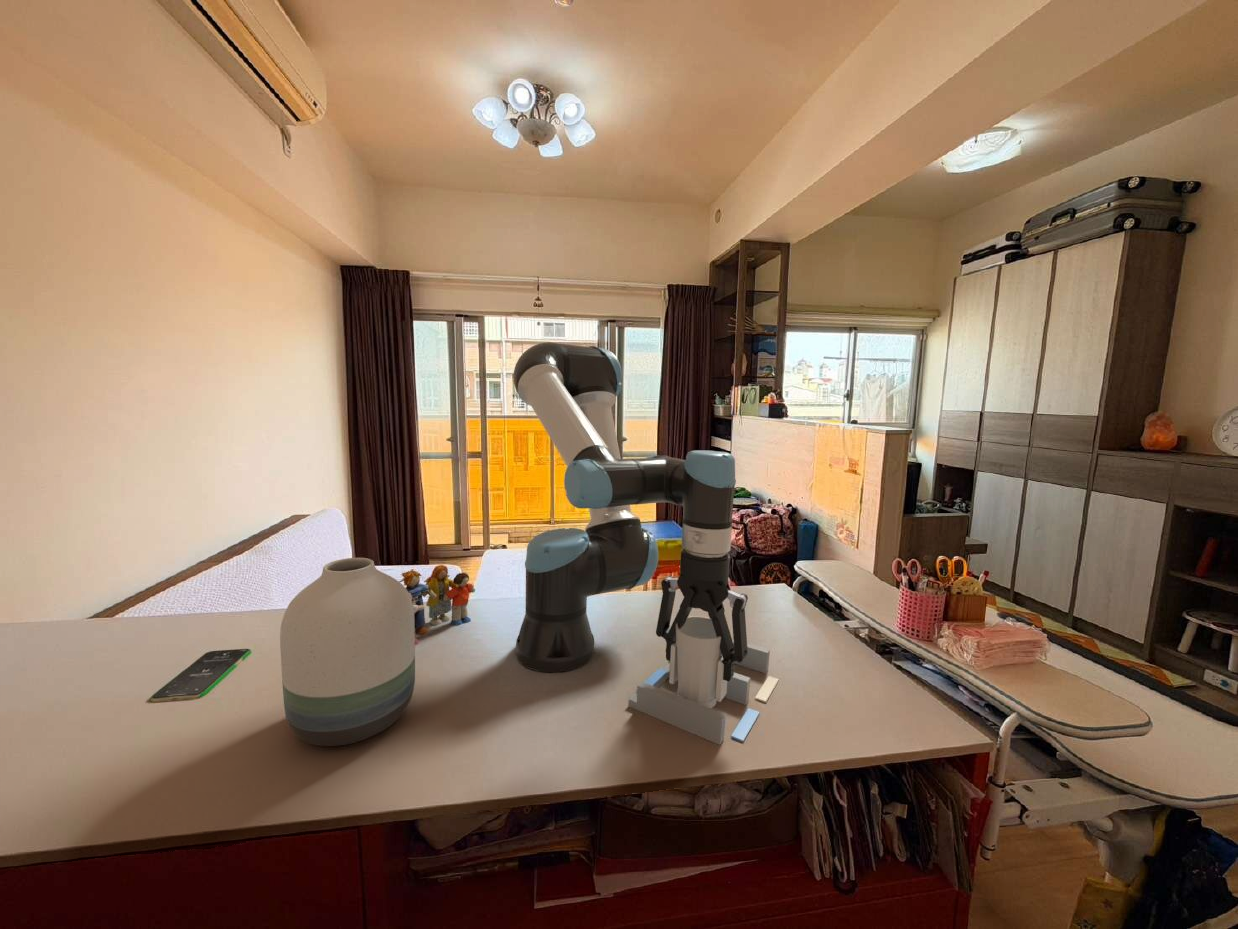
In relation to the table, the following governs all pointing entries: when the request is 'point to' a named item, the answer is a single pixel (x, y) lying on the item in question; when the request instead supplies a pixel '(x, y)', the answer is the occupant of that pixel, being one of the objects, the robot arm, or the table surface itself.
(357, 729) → the vase
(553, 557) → the robot arm
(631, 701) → the parallel grey wall panels
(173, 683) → the smartphone
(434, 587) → the doll family
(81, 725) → the table surface
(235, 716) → the table surface
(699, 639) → the cup
